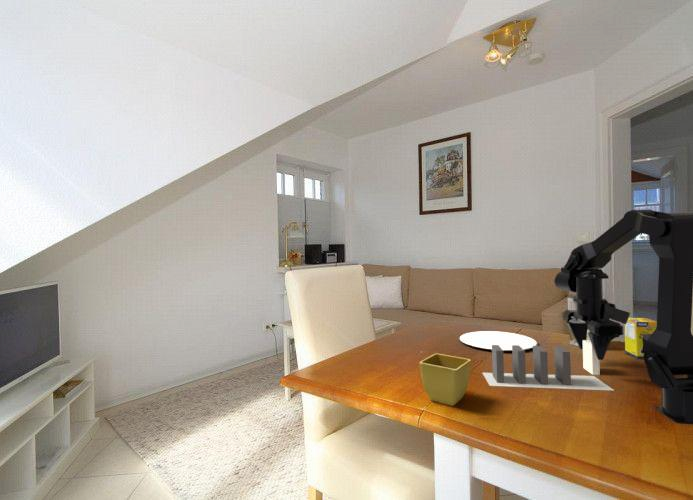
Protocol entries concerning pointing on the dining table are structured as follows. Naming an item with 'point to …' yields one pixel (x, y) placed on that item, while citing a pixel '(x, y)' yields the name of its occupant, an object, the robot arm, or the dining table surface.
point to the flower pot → (445, 377)
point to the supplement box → (637, 335)
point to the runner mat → (550, 382)
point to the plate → (497, 340)
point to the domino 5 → (590, 358)
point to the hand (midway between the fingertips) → (591, 354)
